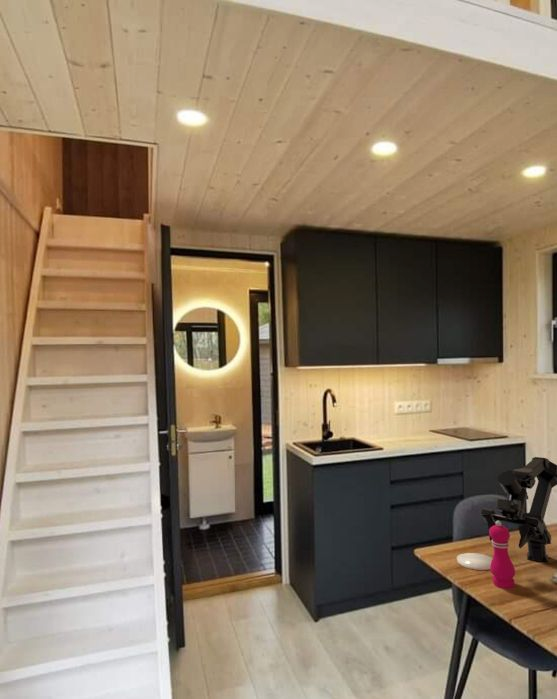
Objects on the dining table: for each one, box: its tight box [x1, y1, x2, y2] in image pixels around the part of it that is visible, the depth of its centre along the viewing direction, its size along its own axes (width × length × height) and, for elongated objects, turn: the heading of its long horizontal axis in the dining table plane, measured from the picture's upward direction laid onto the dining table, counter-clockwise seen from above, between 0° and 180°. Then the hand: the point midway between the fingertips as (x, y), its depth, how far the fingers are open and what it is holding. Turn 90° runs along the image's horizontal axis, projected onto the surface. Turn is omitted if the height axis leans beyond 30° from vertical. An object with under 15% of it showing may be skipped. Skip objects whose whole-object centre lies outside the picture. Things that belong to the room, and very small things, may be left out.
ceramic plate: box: [456, 552, 493, 571], centre depth 155 cm, size 13×13×1 cm
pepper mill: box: [488, 521, 516, 590], centre depth 139 cm, size 7×7×20 cm
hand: (504, 543), depth 141 cm, fingers open, 9 cm apart
